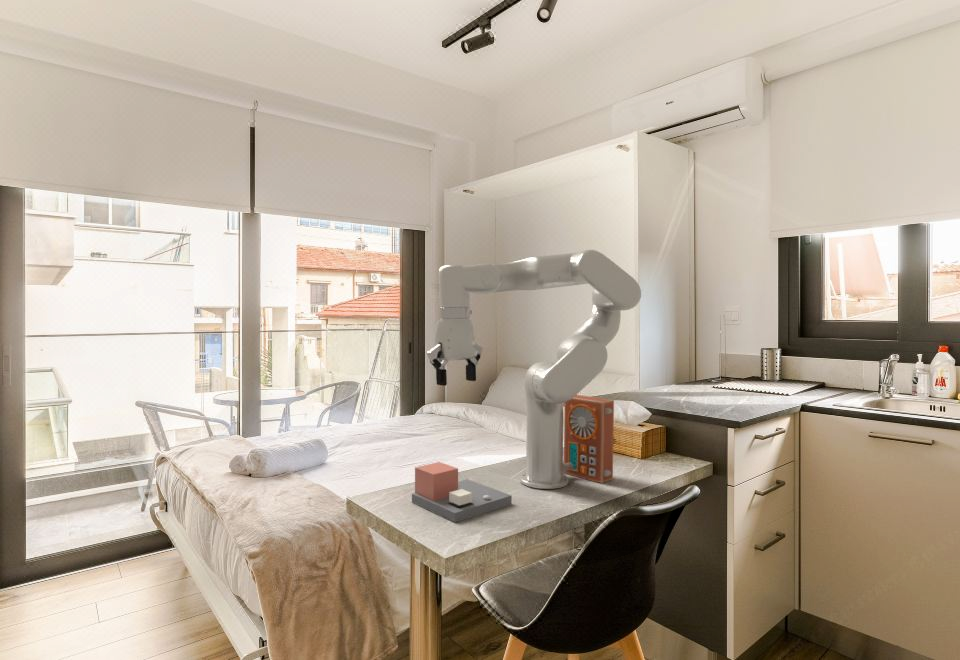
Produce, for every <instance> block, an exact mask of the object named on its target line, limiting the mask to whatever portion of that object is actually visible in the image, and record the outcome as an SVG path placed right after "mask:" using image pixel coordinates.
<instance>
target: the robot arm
mask: <svg viewBox="0 0 960 660" xmlns="http://www.w3.org/2000/svg"><path fill="white" fill-rule="evenodd" d="M580 285H581V286H582V285H589V286H591V287H592V288H593V289H592V293H591V302H592V308H591V309H592V310H591V313H590V315H589V316H588V318H587V319H586V320H585V321H584V322H583V323H582V324H581V325H580V326H579V327H578V328H577V329H575V331H573V332H572V333H571V334H570V335H569V336H567V338H565V339H564V340H563V341H562V342H561V343H560V344H559V346H558V348H557V351H556V358H557V360H558V361H557V362H550V361H539V362H535V363H534V364H532V365H531V366H530V367H529V368H528V370H527V371H526V374H525V376H524V390H525V400H526V450H525V451H526V453H525V454H526V457H525V458H526V459H525V460H526V461H525V462H526V463H525V464H526V465H525V469H526V471H525V472H524V473H522V474H521V475H520V480H519V481H520V483H521V484H523V485H524V486H526V487H529V488H533V489H541V490H552V489H560V488H564V487H566V486H568V484H569V477H568V476H567V474H565V472H566V470H570V469H573V464H572V463H571V462H568V463H563V461H564V407H563V405H562V404H563V403H565V402H567V401H569V400H570V399H572V398H573V397H574V396H576V395H579V393H580V392H581V391H582V390H583V389H584V388H585V387H586V386H588V385H589V384H590V383H591V382H592V381H593V380H594V379H595V378H596V377H597V376H598V375H600V373H601V372H602V371H603V369H604V368H605V366H606V364H607V361H608V349H607V346H608V345H609V344H610V343H611V342H612V341H613V340H614V338H615V337H616V336H617V334H618V332H619V330H620V325H621V311H629V310H631V309H634V308H635V307H636V306H637V305H638V304H639V302H640V300H641V298H642V290H641V286H640V285H639V282H637V280H636V279H635V278H634V277H633V276H631V275H630V274H629V273H628V272H626V271H625V270H624V269H623V268H621V267H620V266H619V265H618V264H617V263H615V262H614V261H613V260H611V259H610V258H609V257H607V256H606V255H605V254H603V253H602V252H600V251H598V250H594V249H586V250H583V251H577V252H568V253H561V254H560V253H559V254H552V255H551V254H550V255H542V256H541V255H539V256H531V257H526V258H524V259H521V260H520V259H519V260H516V261H512V262H506V263H498V264H497V263H496V264H491V263H486V262H485V263H478V264H471V265H463V264H445V265H442V266H441V267H440V268H439V270H438V287H439V288H438V293H439V294H438V295H439V297H438V298H439V320H437V322H436V326H435V332H434V333H435V334H434V346H433V347H432V348H431V349H430V350H428V351H427V353H426V355H427V357H428V359H429V363H430V364H431V365H432V367H433V369H434V370H435V374H436V375H435V376H436V378H435V380H436V385H438V386H443V387H445V386H447V385H448V383H447V382H448V379H447V372H448V371H447V369H446V366H447V364H448V363H449V362H453V361H461V360H464V361H465V362H466V365H465V380H466V381H468V382H469V381H470V382H476V381H477V371H476V370H477V369H476V368H477V366H478V364H479V360H480V359H481V355H482V352H483V350H484V349H483V347H482V346H481V345H479V344H478V343H476V341H475V340H476V339H475V330H474V325H473V321H472V319H471V315H472V313H473V311H472V309H471V307H470V306H471V305H470V304H471V303H470V300H471V298H470V293H472V294H474V295H486V294H496V293H503V292H512V291H536V290H546V289H554V288H563V287H571V286H580Z"/></svg>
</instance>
